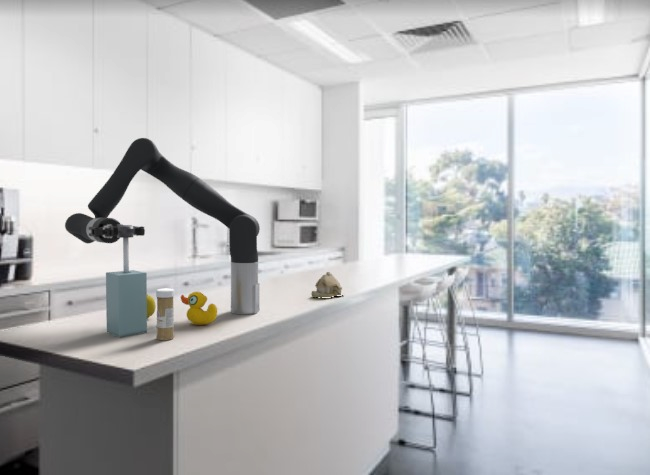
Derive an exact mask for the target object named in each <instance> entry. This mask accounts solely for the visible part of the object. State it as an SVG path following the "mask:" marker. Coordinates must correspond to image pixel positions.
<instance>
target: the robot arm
mask: <svg viewBox="0 0 650 475" xmlns="http://www.w3.org/2000/svg"><path fill="white" fill-rule="evenodd" d="M140 171H143V172H145V173H146V174H148V175H150V176H152V177H153V178H155V179H157V180H158V181H159V182H161V183H162V184H164V185H165V186H166V187H167V188H168V189H169V190H170V191H172V193H174V194H175V195H176V196H178V197H179V198H180V199H182V200H183V201H184V202H185V203H187V204H188V205H189V206H191V207H192V208H194V209H195V210H197V211H199V212H201V213H203V214H204V215H207V216H209V217H212V218H213V219H215V220H217V221H219V222H220V223H221V224H223V225H224V226H225V227H226V228H228V232H229V233H228V238H229V240H228V241H229V243H228V245H229V255H230V313H232V314H235V315H249V314H250V315H251V314H257V313H258V312H259V311H260V291H261V290H260V288H261V287H260V283H259V252H258V246H257V245H258V239H257V238H258V235H259V233H260V230H261V229H260V223H259V221H258V220H257V218H255V217H254V216H252V215H250V214H249V213H247V212H245V211H243V210H241V209H240V208H238V207H236V206H235V205H234V204H232V203H231V202H230V201H228V200H227V199H226V198H225V197H223V195H221V194H220V193H219V192H218V191H217V190H215V189H214V188H213V187H211V186H210V185H209V184H208V183H206V181H204V180H203V179H201V178H200V177H198V176H196V175H195V174H193V173H191V172H189V171H187V170H184V169H183V168H180V167H178V166H177V165H175V164H173V162H171V161H169V160H168V159H167V158H166V157H165V156H164V155H163V154H161V152H160V151H159V149H158V147H157V146H156V144H155V142H154V141H153V140H151V139H149V138H147V137H139V138H137V139H135V140H134V141H132V142H131V144H130V145H129V146H128V148H127V150H126V152H125V154H124V155H123V157H122V159H121V160H120V162H119V164H117V167H116V168H115V170H114V171H113V173H112V174H111V175H110V177H109V178H108V180H107V181H106V182H104V183H105V184H103V186H101V188H100V189H99V190H98V192H97V193H96V194H95V195H94V196H93V198H92V199H91V200H89V203H88V204H87V209H88V210H89V211H90V212H91V213H92V214H93V215H94V217H91V216H89V215H87V214H84V213H81V212H77V213H73V214H72V215H70V216H69V217H68V218H67V219H66V220H65V223H64V228H65V230H66V232H67V233H69V234H70V235H72V236H73V237H74V238H77V239H78V240H80V241H81V242H83V243H85V244H92V243H94V242H97V243H102V244H114V243H116V242H118V241H119V240H120V239H121V238H119V237H118V226H133V229H135V232H134V233H133V236H136V237H141V236H142V237H143V236H145V232H146V229H145V226H135V225H131V224H123V223H121V222H120V221H119V220H117V218H116V219H115V218H113V217H109V216H110V214H112V212H113V210H115V208H116V207H117V205H118V204H119V203H120V202H121V200H122V199H123V197H124V196H125V194H126V192H127V190H128V187H129V186H130V184H131V182H132V181H133V179H134V178H135V177H136V175H137V174H138V173H139V172H140Z"/></svg>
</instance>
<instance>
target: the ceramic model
mask: <svg viewBox="0 0 650 475" xmlns="http://www.w3.org/2000/svg"><path fill="white" fill-rule="evenodd" d="M314 286H315V288H316V290H312V291H311V293H310V294H311V297H312V298H313V297H320V298H322V297H332V296H337V295H341V293H342V290H343V286H341V284H340V282H339V281H338V280H337V278H336V277H335V276H334V275H333V274H332V273H331V272H328V271H327V272H326V273H325V274H323V275H322V276H321V277H320V278H319V279H318V280H317V281H316V283H315V285H314ZM320 298H319V299H320Z"/></svg>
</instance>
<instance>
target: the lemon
mask: <svg viewBox="0 0 650 475" xmlns="http://www.w3.org/2000/svg"><path fill="white" fill-rule="evenodd" d="M156 306H157V304H156V301H155V298H154V297H153V296H151V295H149V294H148V293H147V320H148V319H149V318H150V317H152V316H153V315H154V314H155V312H156V309H157V307H156Z"/></svg>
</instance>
